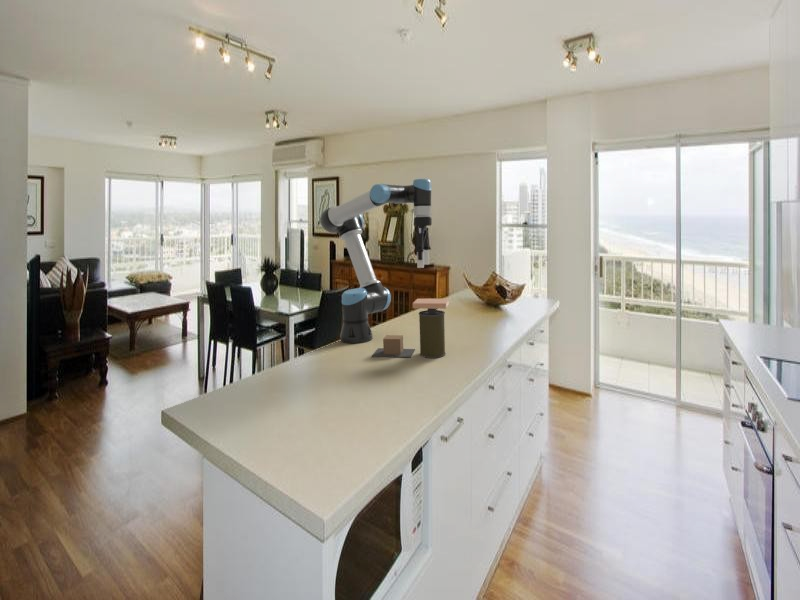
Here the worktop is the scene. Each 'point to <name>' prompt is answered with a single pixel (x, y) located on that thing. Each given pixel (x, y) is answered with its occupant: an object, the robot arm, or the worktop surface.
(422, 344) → the canister
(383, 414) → the worktop surface
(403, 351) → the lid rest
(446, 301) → the lid
